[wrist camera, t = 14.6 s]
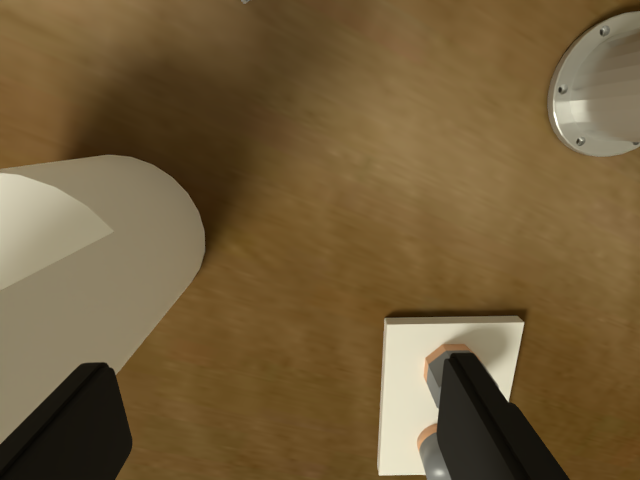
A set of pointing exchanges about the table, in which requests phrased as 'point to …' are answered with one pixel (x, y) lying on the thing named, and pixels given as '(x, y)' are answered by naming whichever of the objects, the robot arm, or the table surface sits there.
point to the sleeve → (435, 367)
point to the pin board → (412, 390)
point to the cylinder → (86, 269)
